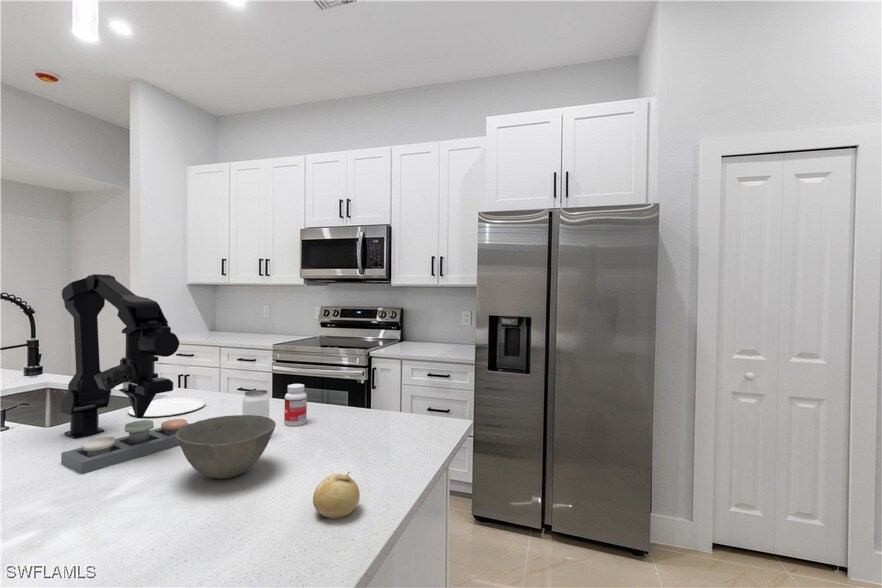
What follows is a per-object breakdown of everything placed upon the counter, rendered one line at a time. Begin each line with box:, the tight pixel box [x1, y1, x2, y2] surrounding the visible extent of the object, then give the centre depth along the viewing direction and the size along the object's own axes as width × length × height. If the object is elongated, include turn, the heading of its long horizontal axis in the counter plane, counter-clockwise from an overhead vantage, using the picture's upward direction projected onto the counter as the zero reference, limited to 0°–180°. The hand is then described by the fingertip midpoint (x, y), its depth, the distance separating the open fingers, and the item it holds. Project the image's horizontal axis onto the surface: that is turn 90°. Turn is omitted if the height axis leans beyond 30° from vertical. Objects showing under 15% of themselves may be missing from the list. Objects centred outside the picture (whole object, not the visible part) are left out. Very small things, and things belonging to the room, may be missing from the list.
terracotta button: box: [160, 418, 188, 436], centre depth 108 cm, size 6×6×4 cm
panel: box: [60, 422, 190, 475], centre depth 101 cm, size 10×26×2 cm, turn 150°
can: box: [241, 389, 270, 418], centre depth 111 cm, size 6×6×12 cm
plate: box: [127, 397, 206, 418], centre depth 135 cm, size 21×21×1 cm
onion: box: [312, 471, 361, 519], centre depth 75 cm, size 8×8×7 cm
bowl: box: [176, 414, 277, 480], centre depth 89 cm, size 19×19×10 cm
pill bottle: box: [283, 383, 308, 427], centre depth 123 cm, size 6×6×11 cm
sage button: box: [124, 419, 155, 444], centre depth 101 cm, size 6×6×4 cm
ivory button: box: [82, 436, 116, 458], centre depth 94 cm, size 6×6×4 cm
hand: (139, 418), depth 101 cm, fingers closed
